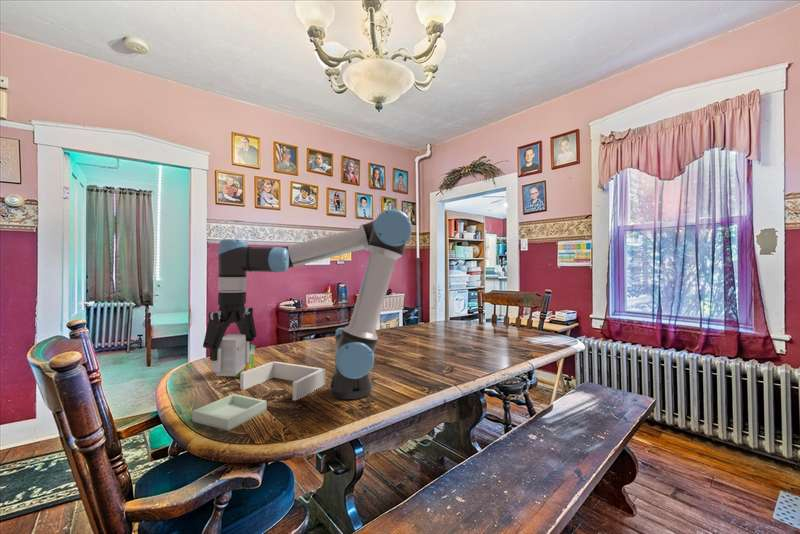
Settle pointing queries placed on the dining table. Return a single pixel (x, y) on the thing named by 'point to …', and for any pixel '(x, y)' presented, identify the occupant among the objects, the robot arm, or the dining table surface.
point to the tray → (229, 411)
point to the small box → (232, 354)
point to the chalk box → (248, 365)
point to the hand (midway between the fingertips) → (231, 366)
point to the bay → (285, 377)
